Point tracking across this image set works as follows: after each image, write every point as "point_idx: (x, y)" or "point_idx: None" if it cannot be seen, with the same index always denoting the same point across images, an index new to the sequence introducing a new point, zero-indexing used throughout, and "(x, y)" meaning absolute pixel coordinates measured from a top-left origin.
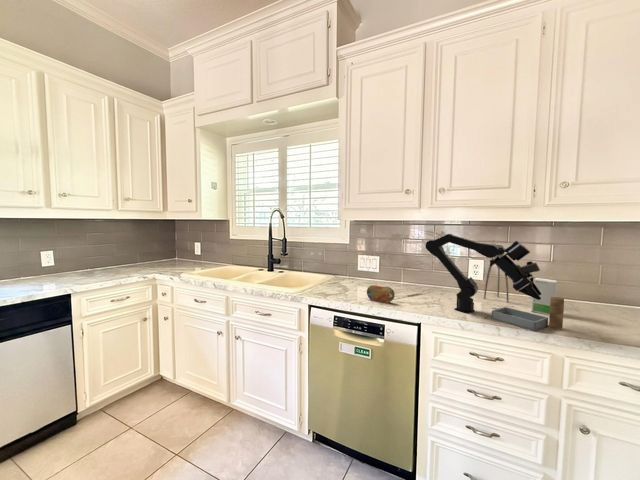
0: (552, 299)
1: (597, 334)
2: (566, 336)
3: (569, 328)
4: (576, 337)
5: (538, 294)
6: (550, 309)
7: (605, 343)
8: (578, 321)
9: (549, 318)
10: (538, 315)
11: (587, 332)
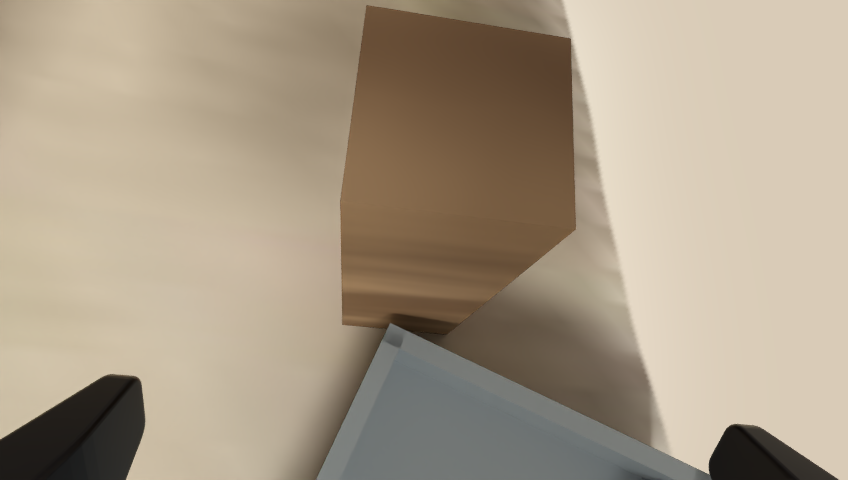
0: (566, 204)
1: None
2: (595, 231)
3: (343, 172)
4: None
5: (134, 450)
6: (503, 283)
7: (569, 35)
8: (39, 57)
9: (442, 314)
10: (362, 426)
11: None
